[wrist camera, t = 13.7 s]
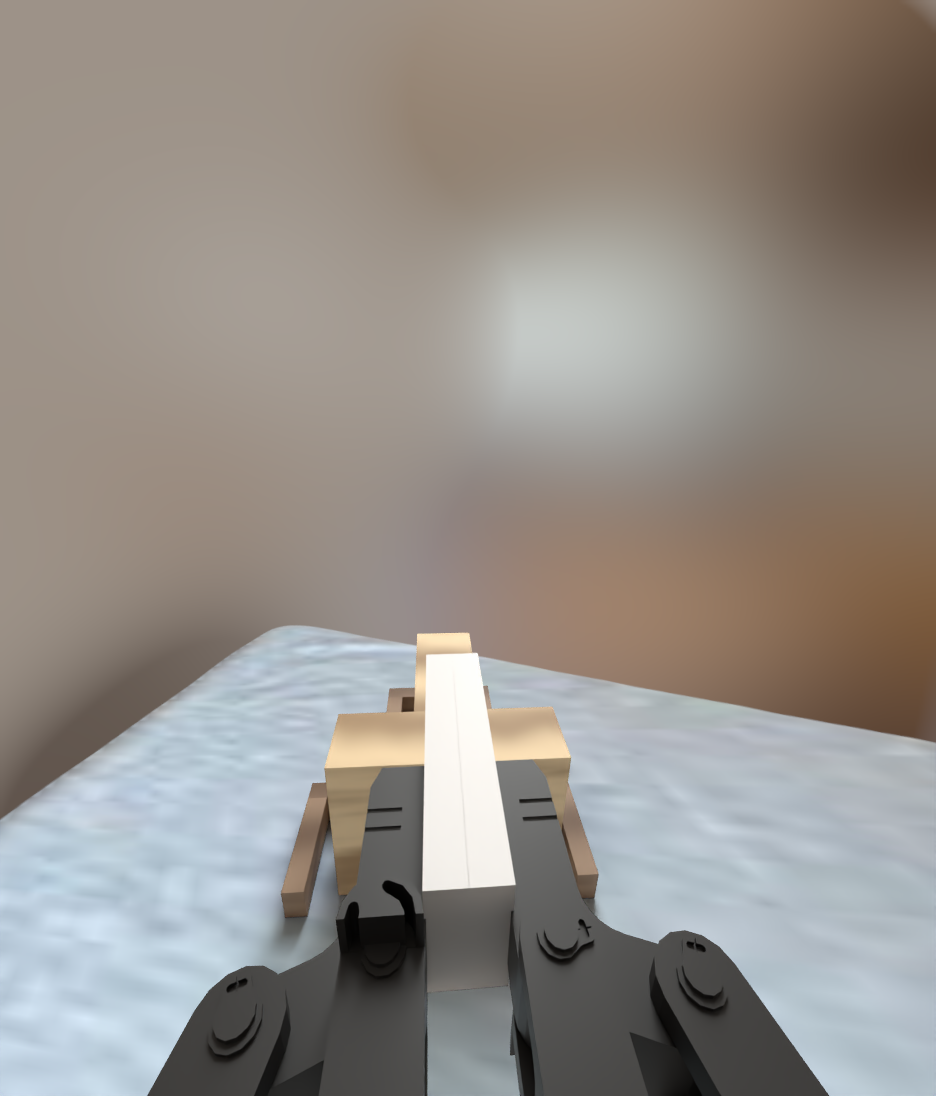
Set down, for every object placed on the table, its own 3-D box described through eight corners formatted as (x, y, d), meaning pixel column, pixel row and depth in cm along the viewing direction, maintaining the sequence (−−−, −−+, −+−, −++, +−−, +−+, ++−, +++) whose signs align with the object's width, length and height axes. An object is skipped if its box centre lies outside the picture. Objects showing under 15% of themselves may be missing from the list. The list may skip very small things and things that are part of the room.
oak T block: (554, 880, 35) (571, 757, 31) (338, 895, 34) (324, 768, 29) (517, 728, 50) (524, 631, 46) (366, 734, 49) (359, 635, 44)
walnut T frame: (594, 897, 34) (598, 874, 33) (285, 917, 32) (280, 893, 31) (533, 702, 54) (535, 684, 53) (341, 708, 52) (339, 690, 51)
